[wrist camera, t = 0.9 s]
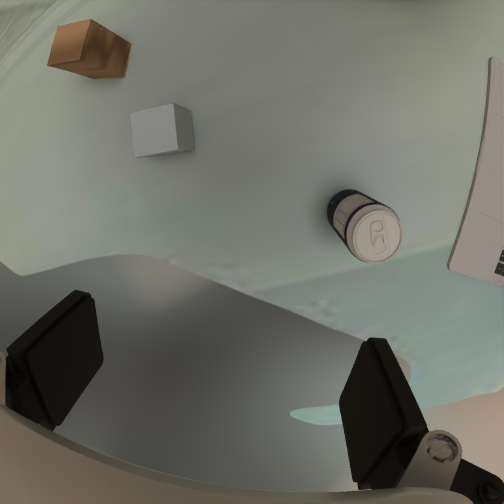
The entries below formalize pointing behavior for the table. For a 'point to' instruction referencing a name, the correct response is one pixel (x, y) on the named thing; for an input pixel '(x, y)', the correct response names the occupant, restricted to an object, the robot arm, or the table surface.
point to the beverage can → (365, 226)
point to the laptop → (485, 195)
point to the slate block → (162, 131)
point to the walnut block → (90, 50)
